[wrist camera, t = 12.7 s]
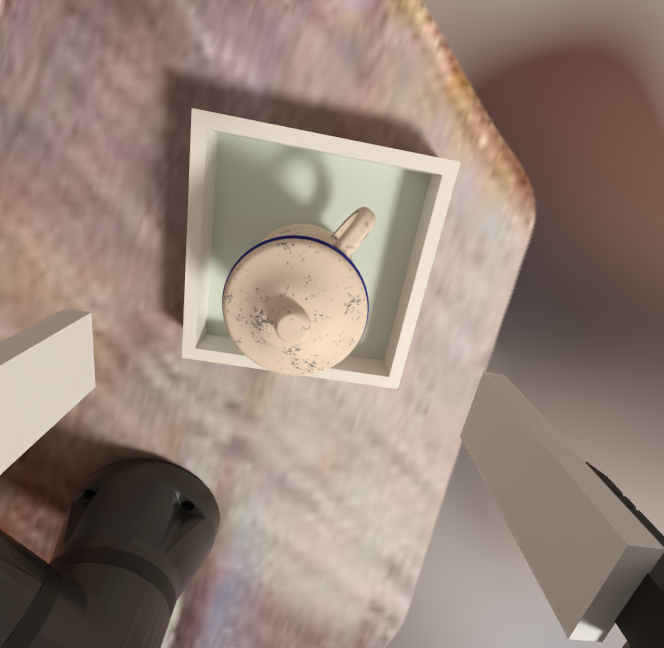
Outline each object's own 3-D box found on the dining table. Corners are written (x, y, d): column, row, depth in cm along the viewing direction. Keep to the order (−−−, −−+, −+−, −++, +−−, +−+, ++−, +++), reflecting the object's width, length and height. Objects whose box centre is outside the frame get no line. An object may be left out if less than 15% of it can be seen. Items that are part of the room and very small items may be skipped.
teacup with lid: (310, 346, 34) (304, 427, 23) (225, 282, 31) (174, 338, 20) (404, 243, 31) (449, 279, 20) (318, 163, 28) (315, 155, 17)
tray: (197, 337, 34) (182, 357, 30) (209, 117, 28) (191, 108, 24) (390, 366, 36) (397, 389, 32) (443, 163, 29) (460, 161, 26)
